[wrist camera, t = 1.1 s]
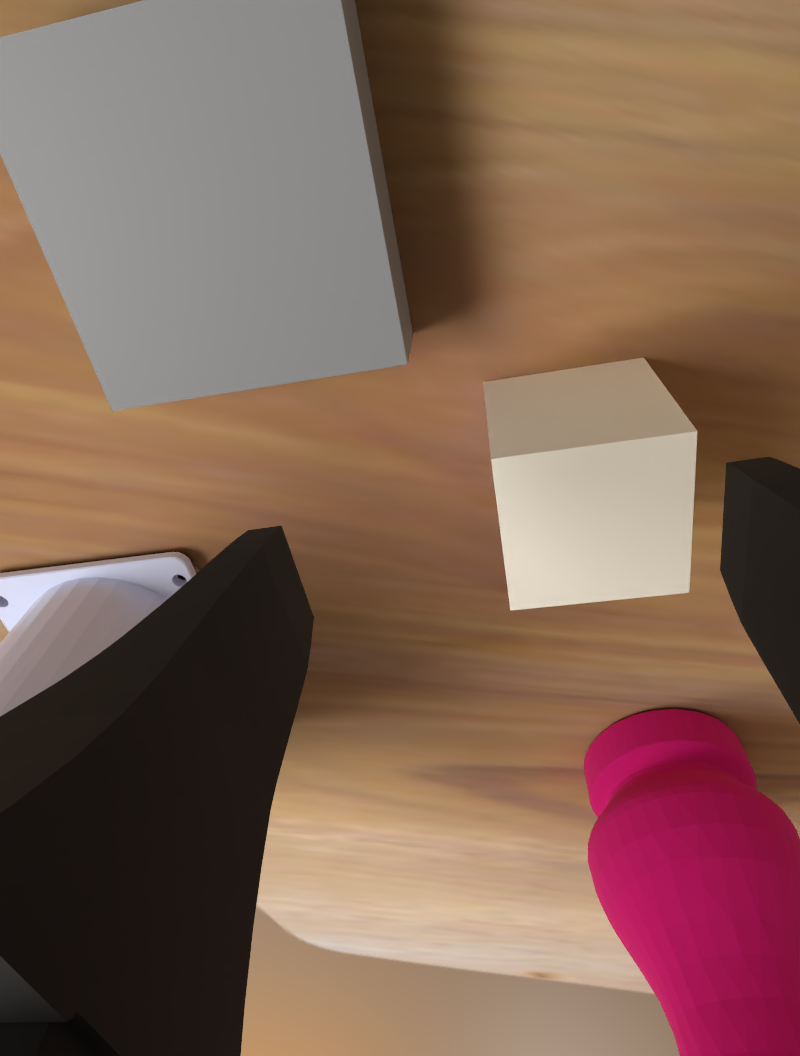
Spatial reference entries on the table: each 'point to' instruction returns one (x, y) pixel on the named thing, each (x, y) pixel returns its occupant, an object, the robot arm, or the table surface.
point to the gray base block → (208, 193)
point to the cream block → (591, 484)
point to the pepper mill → (699, 880)
